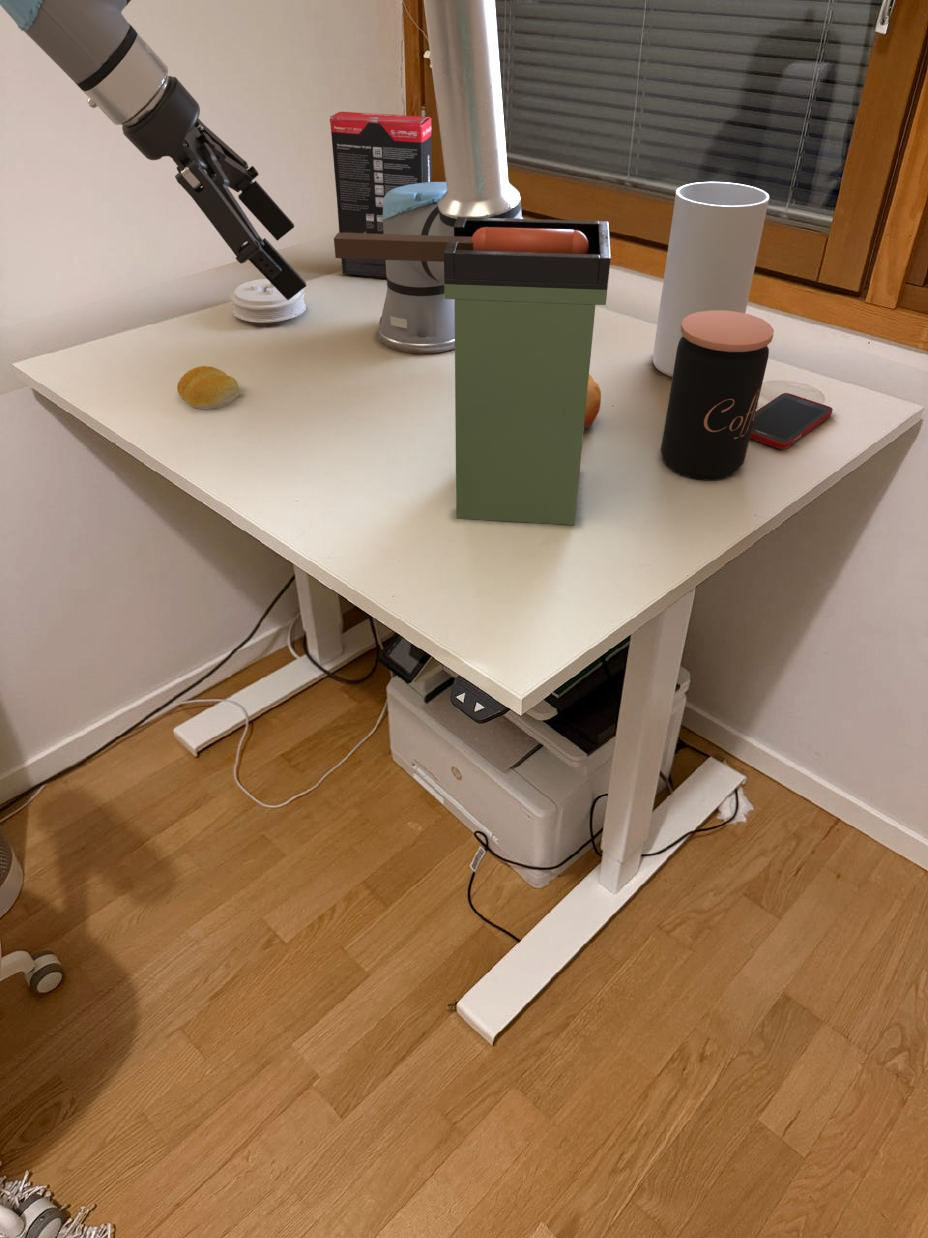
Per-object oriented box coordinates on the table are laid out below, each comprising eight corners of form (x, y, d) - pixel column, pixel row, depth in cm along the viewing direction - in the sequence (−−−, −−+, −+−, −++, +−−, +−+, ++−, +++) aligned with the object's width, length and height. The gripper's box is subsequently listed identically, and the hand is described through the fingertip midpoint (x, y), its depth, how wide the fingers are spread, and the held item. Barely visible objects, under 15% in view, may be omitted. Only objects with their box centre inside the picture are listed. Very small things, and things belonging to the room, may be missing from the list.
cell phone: (833, 414, 124) (835, 407, 124) (783, 451, 116) (785, 445, 116) (783, 397, 128) (784, 391, 128) (731, 432, 120) (733, 426, 120)
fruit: (608, 399, 125) (606, 364, 118) (595, 446, 123) (593, 414, 115) (553, 391, 127) (548, 356, 120) (539, 437, 125) (533, 405, 117)
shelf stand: (447, 518, 104) (444, 283, 87) (458, 466, 114) (457, 245, 96) (583, 526, 103) (607, 289, 85) (583, 473, 112) (605, 250, 95)
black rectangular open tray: (444, 283, 87) (443, 252, 85) (457, 245, 96) (457, 216, 94) (607, 289, 85) (610, 258, 84) (605, 250, 95) (608, 221, 93)
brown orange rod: (334, 260, 91) (331, 227, 89) (340, 250, 93) (337, 218, 91) (587, 268, 89) (589, 235, 87) (587, 258, 91) (589, 225, 89)
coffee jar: (694, 491, 109) (721, 351, 97) (642, 453, 116) (662, 319, 105) (760, 470, 113) (794, 334, 101) (706, 435, 120) (732, 303, 108)
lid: (225, 308, 156) (220, 279, 153) (293, 296, 160) (289, 268, 157) (245, 333, 147) (240, 303, 144) (316, 320, 152) (313, 290, 149)
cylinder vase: (700, 391, 130) (733, 211, 114) (635, 364, 138) (657, 192, 122) (749, 367, 137) (787, 194, 121) (685, 343, 144) (712, 177, 128)
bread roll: (200, 416, 124) (195, 390, 122) (171, 395, 130) (165, 369, 127) (252, 399, 128) (247, 373, 126) (221, 379, 134) (217, 354, 131)
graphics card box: (436, 272, 170) (433, 112, 153) (427, 284, 165) (422, 120, 148) (352, 265, 173) (340, 108, 156) (340, 277, 168) (326, 115, 151)
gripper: (121, 79, 95) (258, 229, 110) (114, 181, 79) (275, 339, 95) (171, 31, 93) (304, 191, 108) (174, 127, 77) (329, 298, 92)
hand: (291, 260), depth 101 cm, fingers open, 13 cm apart
